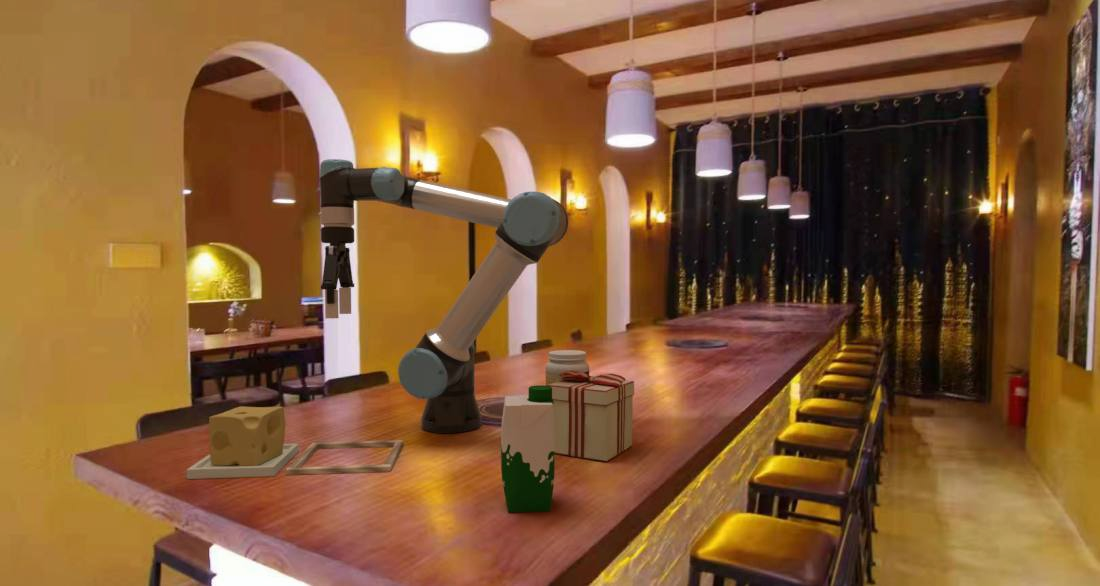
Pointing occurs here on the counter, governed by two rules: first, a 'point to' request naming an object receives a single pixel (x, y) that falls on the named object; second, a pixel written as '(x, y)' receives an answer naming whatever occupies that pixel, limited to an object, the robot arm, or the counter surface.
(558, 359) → the supplement tub
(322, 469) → the wooden square frame
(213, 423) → the cheese
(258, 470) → the plate
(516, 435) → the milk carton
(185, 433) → the counter surface
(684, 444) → the counter surface
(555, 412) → the gift box
